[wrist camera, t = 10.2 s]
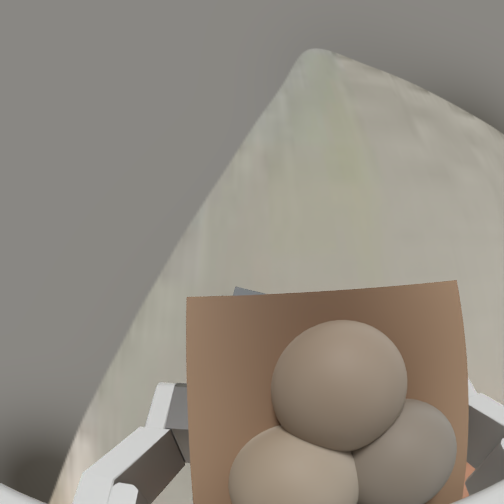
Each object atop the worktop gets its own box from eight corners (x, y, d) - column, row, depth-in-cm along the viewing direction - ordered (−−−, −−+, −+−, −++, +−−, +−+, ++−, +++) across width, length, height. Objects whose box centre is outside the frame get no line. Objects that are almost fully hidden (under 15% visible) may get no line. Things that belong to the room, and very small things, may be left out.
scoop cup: (360, 329, 13) (493, 258, 5) (365, 452, 11) (491, 537, 3) (229, 336, 13) (165, 276, 5) (233, 463, 11) (185, 593, 3)
